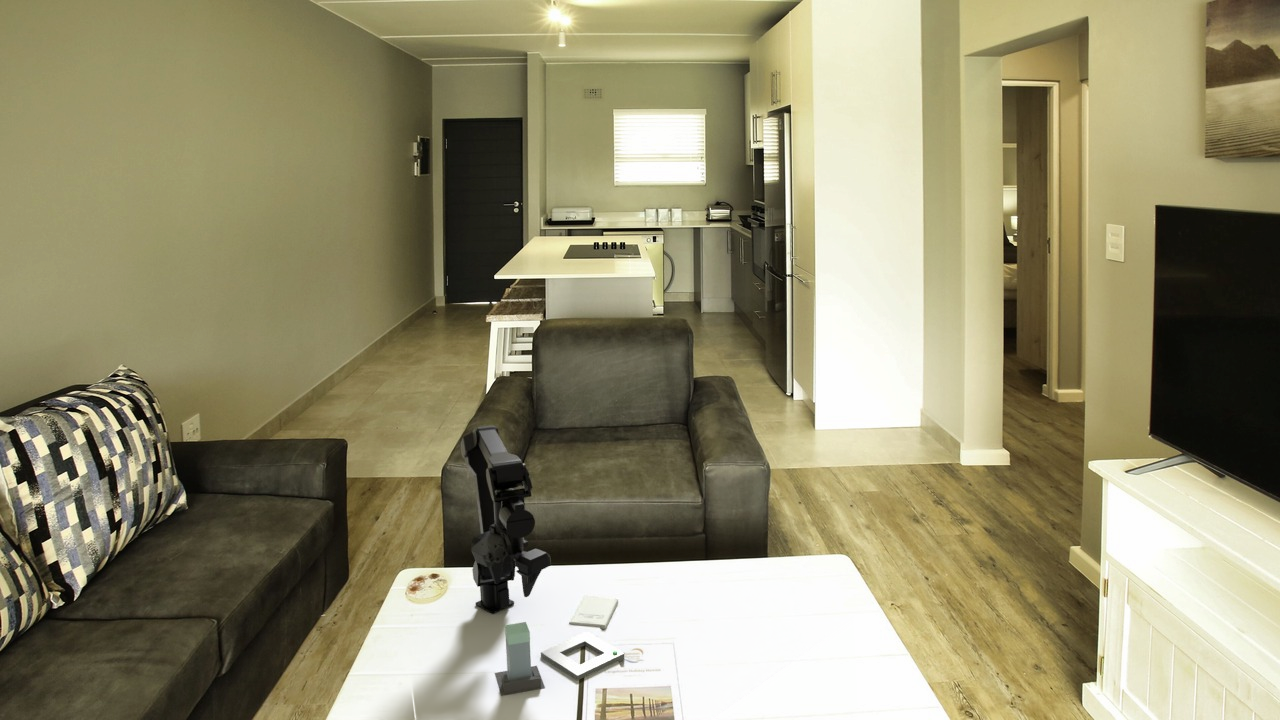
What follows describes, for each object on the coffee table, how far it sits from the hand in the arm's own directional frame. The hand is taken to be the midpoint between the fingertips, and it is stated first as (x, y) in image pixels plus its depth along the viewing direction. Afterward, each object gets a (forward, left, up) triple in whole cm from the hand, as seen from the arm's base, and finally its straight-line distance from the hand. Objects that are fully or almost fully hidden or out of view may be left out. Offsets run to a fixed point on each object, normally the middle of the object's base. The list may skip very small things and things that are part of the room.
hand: (511, 589), depth 194 cm
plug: (+13, -9, -11) cm, 19 cm away
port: (+16, +5, -12) cm, 20 cm away
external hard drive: (+4, +20, -13) cm, 24 cm away
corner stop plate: (+13, -9, -12) cm, 20 cm away
